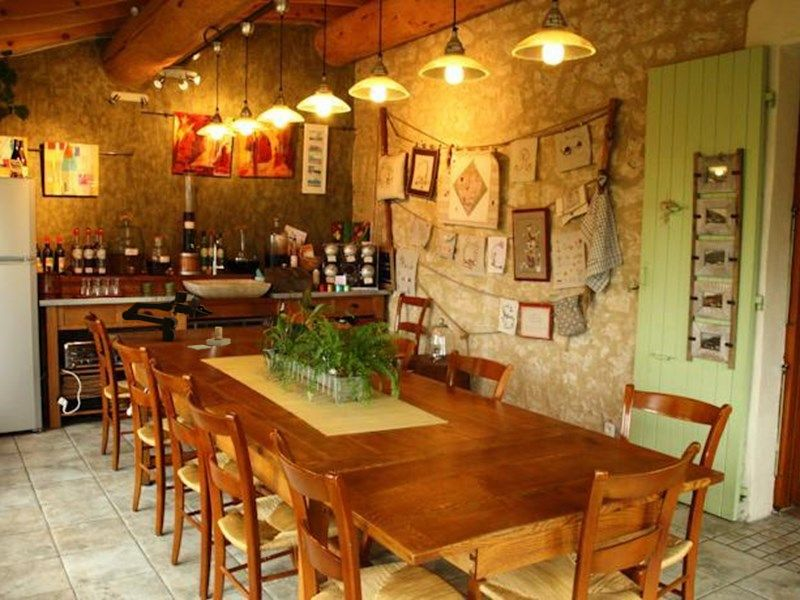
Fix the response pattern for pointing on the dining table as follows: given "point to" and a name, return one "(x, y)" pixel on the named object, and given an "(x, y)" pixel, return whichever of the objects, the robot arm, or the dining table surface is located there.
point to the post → (218, 333)
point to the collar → (218, 342)
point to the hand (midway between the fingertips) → (210, 314)
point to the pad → (199, 347)
